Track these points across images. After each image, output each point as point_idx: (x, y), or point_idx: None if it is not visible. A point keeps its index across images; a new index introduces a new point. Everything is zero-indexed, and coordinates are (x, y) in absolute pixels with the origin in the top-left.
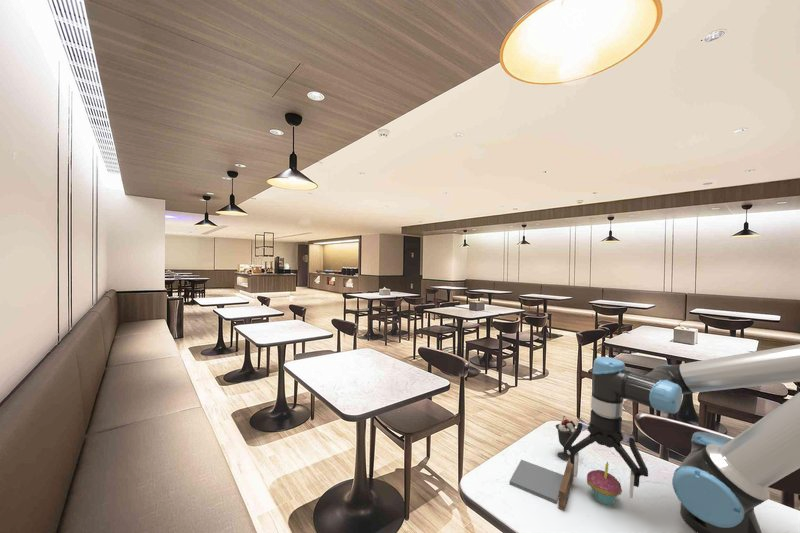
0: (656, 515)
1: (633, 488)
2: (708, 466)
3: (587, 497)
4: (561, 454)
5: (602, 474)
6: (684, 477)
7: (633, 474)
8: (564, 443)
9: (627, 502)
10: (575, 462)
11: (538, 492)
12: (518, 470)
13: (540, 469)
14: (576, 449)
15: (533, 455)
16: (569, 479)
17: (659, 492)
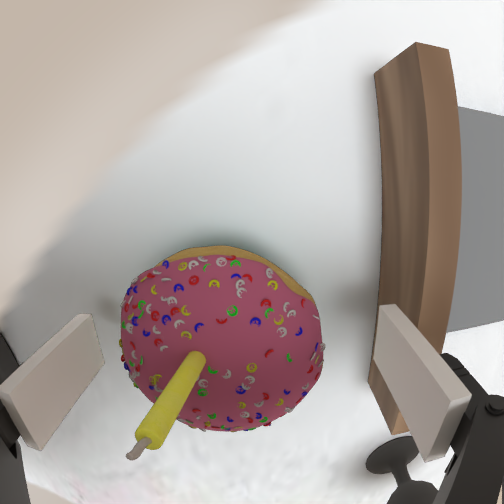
0: (52, 324)
1: (46, 343)
2: None
3: (298, 259)
4: (409, 454)
5: (221, 381)
6: None
7: (6, 404)
8: (422, 491)
9: None
10: (434, 359)
11: (489, 116)
12: None
13: (500, 300)
14: (491, 446)
15: (499, 380)
16: (421, 236)
17: (88, 441)
